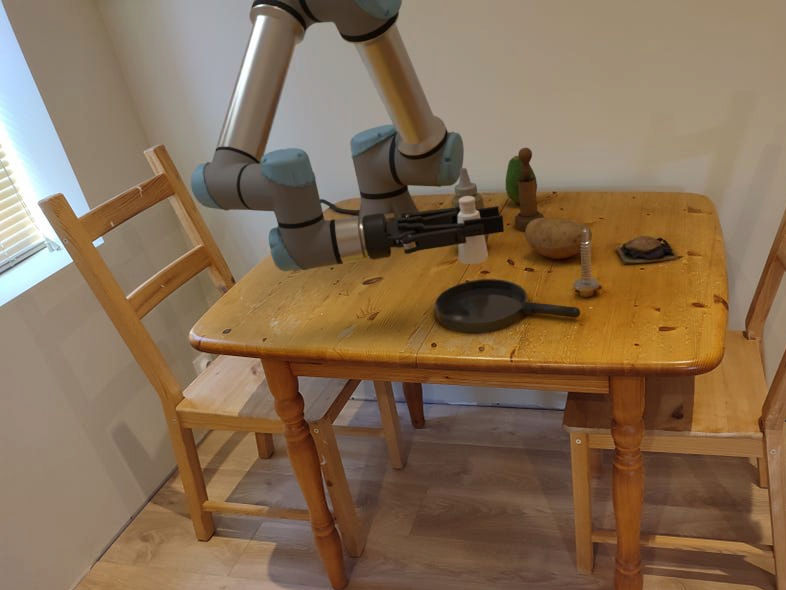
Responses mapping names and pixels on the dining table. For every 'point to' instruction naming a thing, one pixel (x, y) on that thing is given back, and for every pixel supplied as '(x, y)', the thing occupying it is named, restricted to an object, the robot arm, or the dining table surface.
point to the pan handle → (550, 309)
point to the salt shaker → (475, 245)
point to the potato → (555, 237)
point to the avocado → (515, 178)
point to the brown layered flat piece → (645, 250)
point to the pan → (481, 305)
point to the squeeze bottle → (467, 193)
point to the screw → (586, 269)
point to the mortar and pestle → (526, 193)
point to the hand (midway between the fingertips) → (500, 218)
